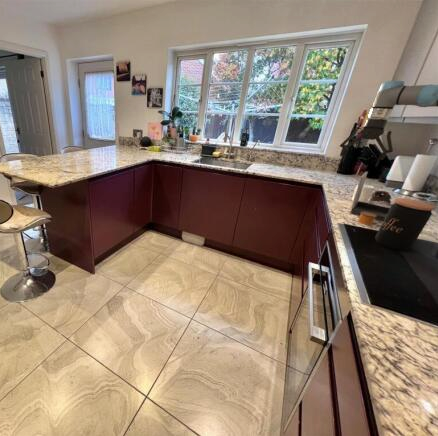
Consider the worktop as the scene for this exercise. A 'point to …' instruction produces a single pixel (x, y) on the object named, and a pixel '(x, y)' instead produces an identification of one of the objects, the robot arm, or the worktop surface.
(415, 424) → the worktop surface
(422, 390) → the worktop surface
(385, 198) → the pottery mug
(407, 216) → the coffee jar
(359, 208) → the drip tray
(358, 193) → the brew lid
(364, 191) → the white cup
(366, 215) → the coffee pod
